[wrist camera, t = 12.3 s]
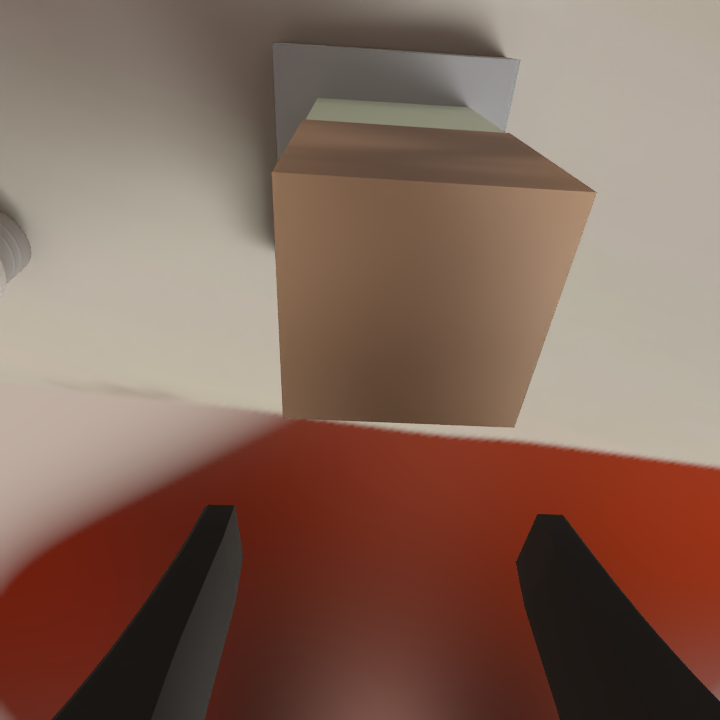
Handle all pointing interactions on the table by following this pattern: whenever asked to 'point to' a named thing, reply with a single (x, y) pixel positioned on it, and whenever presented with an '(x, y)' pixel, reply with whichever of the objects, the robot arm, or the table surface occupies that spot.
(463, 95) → the slab
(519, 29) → the table surface
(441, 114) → the block
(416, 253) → the block
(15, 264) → the lightbulb
